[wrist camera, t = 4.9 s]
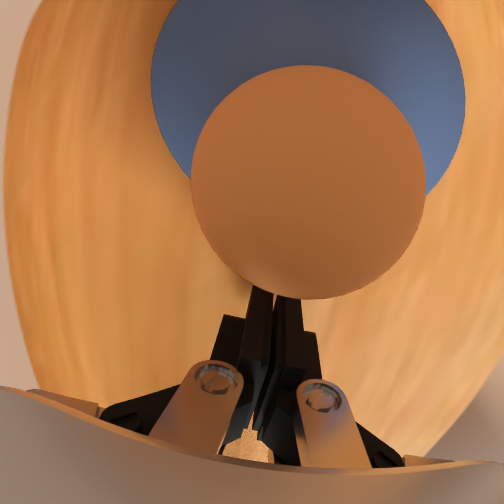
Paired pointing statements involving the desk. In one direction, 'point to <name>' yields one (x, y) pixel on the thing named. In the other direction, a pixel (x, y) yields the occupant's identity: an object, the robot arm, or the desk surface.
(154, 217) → the desk surface
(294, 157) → the ball
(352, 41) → the mark
